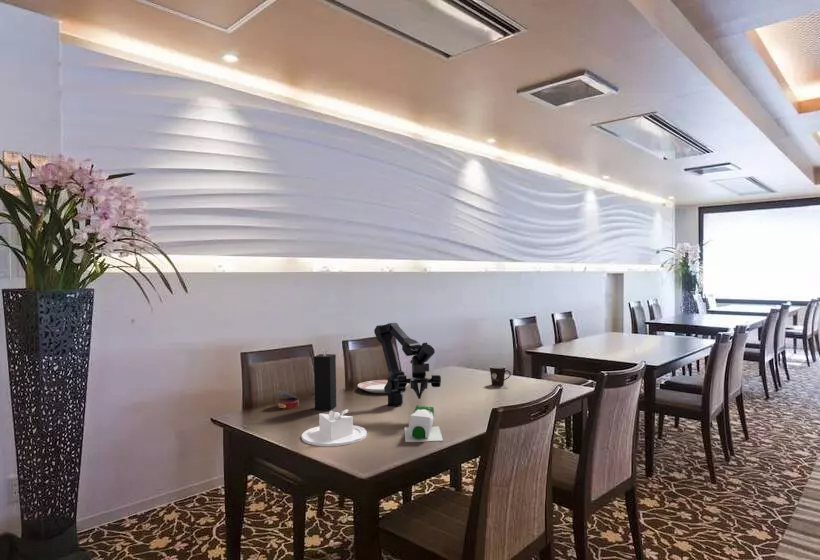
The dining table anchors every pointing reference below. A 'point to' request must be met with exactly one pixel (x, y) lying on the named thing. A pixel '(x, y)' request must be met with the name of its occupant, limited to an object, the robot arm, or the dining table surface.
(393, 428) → the dining table surface
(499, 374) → the coffee mug
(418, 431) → the milk carton
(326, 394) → the tall black box
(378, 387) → the dinner plate
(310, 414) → the dining table surface
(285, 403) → the canned food
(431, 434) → the placemat
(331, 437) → the dish
